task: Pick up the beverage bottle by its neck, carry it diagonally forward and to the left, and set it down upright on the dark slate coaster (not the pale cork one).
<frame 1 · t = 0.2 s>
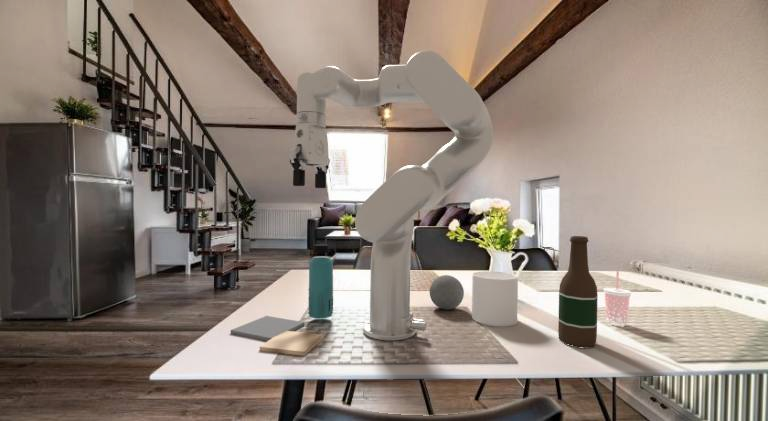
hand: (310, 187, 94), 35 cm above the table, tool pointing down, fingers open, 9 cm apart
beverage bottle: (320, 321, 93), on the table
cork coaster: (293, 343, 77), on the table
cup: (493, 320, 96), on the table
slate coaster: (268, 329, 86), on the table
beer bottle: (577, 343, 81), on the table
decorative ball: (446, 309, 105), on the table
beverage cup: (616, 325, 94), on the table
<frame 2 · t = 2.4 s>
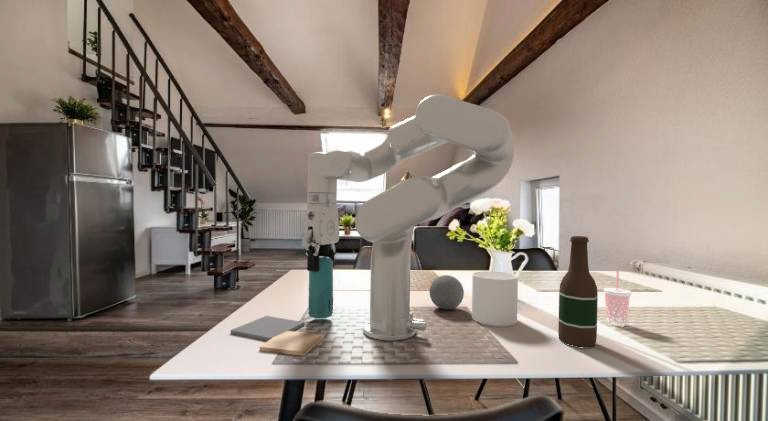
hand: (321, 268, 93), 14 cm above the table, tool pointing down, fingers closed on beverage bottle, 6 cm apart
beverage bottle: (320, 321, 93), on the table, touching gripper
everything else where it was.
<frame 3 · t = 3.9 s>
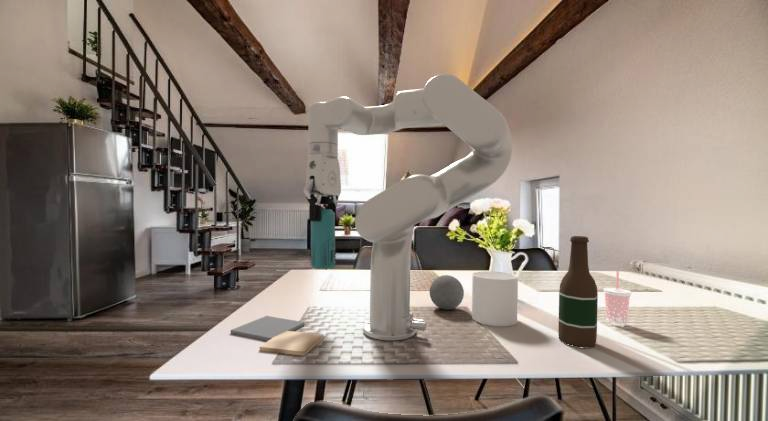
hand: (323, 220, 93), 26 cm above the table, tool pointing down, fingers closed on beverage bottle, 6 cm apart
beverage bottle: (322, 273, 93), point 12 cm above the table, touching gripper
everything else where it was.
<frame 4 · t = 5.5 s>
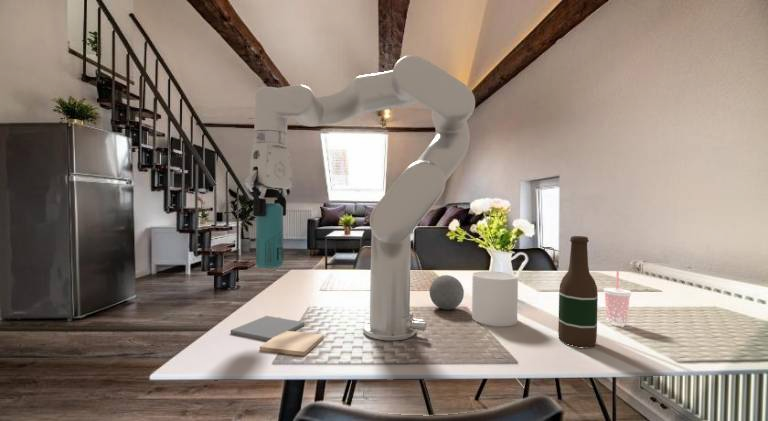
hand: (270, 215, 86), 28 cm above the table, tool pointing down, fingers closed on beverage bottle, 6 cm apart
beverage bottle: (269, 272, 86), point 14 cm above the table, touching gripper
everything else where it was.
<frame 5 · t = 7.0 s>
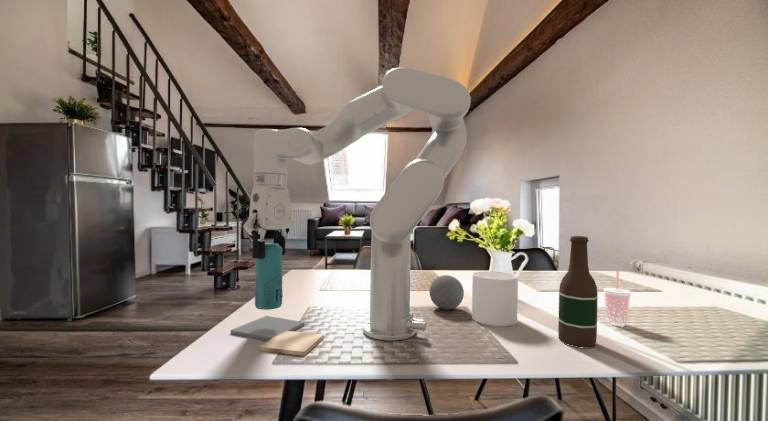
hand: (269, 255, 86), 18 cm above the table, tool pointing down, fingers closed on beverage bottle, 6 cm apart
beverage bottle: (268, 313, 86), point 4 cm above the table, touching gripper
everything else where it was.
when the fingers open (15 cm above the table, at t = 8.5 s): beverage bottle stays where it is, resting on slate coaster.
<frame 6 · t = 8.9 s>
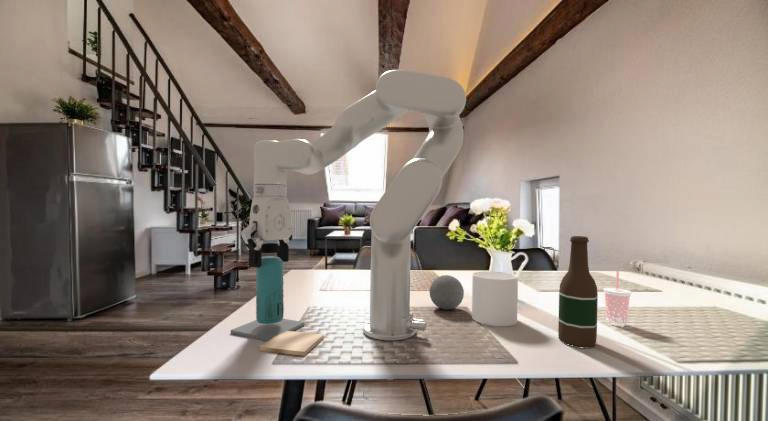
hand: (269, 264, 86), 16 cm above the table, tool pointing down, fingers open, 9 cm apart
beverage bottle: (269, 326, 86), point 1 cm above the table, touching slate coaster
everything else where it was.
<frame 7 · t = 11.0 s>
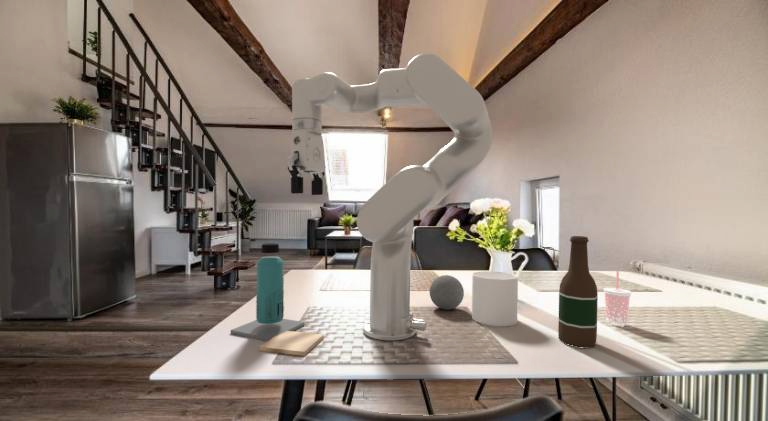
hand: (307, 194, 93), 33 cm above the table, tool pointing down, fingers open, 9 cm apart
nothing on the table moved.
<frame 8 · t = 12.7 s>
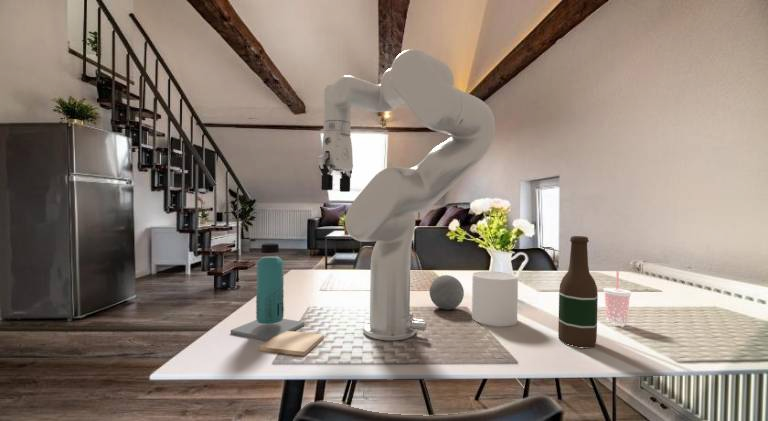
hand: (336, 190, 100), 34 cm above the table, tool pointing down, fingers open, 9 cm apart
nothing on the table moved.
at the end: beverage bottle inside the target area on the slate coaster (0.2 cm from its centre), point 0.6 cm above the slate coaster's base; beverage bottle tilted 0°; the gripper is holding nothing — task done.
